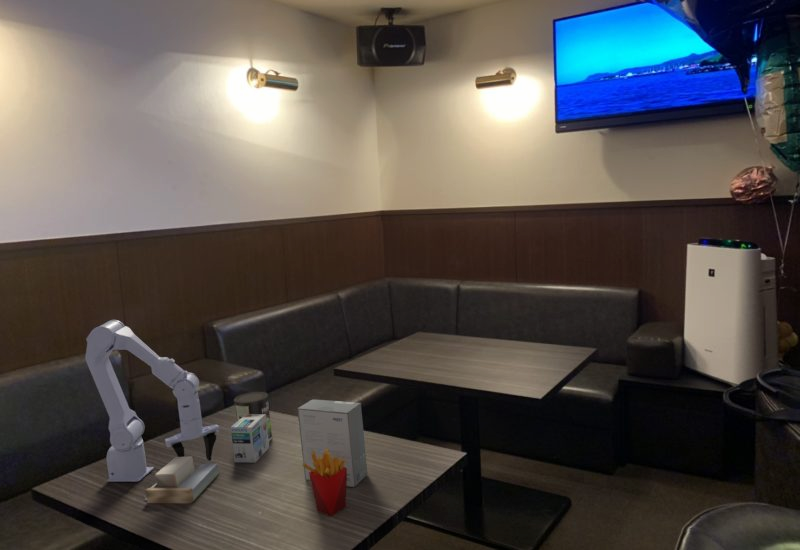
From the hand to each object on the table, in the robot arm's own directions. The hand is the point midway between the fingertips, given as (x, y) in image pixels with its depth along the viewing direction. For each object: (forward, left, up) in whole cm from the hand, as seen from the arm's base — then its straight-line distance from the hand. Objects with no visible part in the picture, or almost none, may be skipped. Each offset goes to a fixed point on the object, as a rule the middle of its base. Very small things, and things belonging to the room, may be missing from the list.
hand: (196, 463), depth 169 cm
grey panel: (-4, -10, -2) cm, 11 cm away
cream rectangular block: (0, -10, -2) cm, 10 cm away
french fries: (+45, -22, -2) cm, 50 cm away
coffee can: (+10, +19, -2) cm, 22 cm away
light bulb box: (+13, +9, -2) cm, 16 cm away
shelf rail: (+2, -18, -2) cm, 18 cm away
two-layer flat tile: (+5, -10, -2) cm, 11 cm away
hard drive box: (+42, -5, -2) cm, 42 cm away
